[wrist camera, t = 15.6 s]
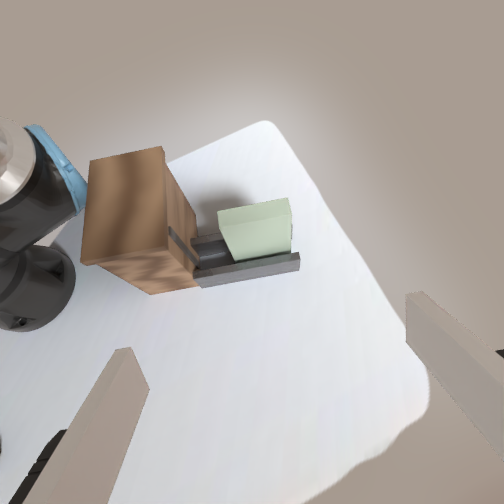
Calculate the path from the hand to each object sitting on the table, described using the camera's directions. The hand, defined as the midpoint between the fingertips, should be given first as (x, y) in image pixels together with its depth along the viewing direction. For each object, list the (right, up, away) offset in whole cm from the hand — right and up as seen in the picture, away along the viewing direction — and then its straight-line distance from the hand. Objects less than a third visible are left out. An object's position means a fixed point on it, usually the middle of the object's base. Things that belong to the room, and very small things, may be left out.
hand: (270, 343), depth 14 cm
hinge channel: (-2, +3, +36) cm, 36 cm away
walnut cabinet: (-15, +4, +38) cm, 41 cm away
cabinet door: (+1, +3, +35) cm, 36 cm away
